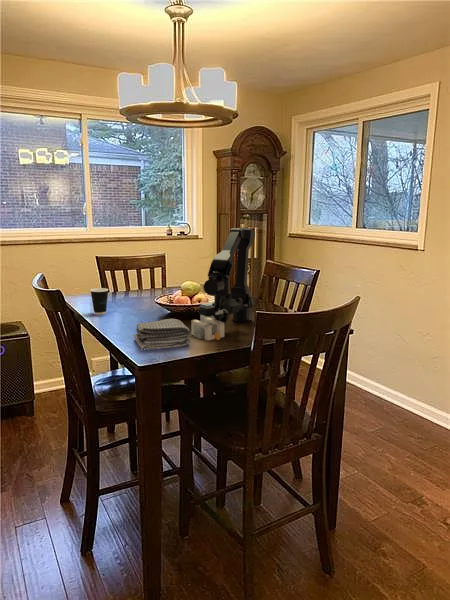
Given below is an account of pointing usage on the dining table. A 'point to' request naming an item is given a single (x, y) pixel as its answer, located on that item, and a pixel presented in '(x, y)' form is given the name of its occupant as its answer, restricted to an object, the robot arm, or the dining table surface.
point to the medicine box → (205, 316)
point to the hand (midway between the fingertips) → (221, 329)
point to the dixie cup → (99, 300)
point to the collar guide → (209, 328)
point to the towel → (162, 334)
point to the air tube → (200, 331)
